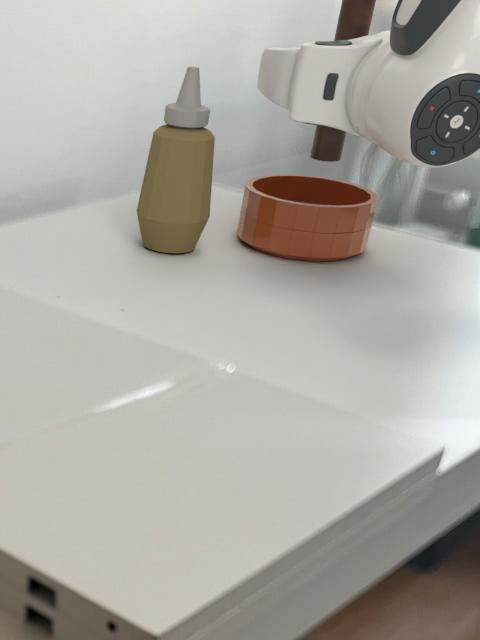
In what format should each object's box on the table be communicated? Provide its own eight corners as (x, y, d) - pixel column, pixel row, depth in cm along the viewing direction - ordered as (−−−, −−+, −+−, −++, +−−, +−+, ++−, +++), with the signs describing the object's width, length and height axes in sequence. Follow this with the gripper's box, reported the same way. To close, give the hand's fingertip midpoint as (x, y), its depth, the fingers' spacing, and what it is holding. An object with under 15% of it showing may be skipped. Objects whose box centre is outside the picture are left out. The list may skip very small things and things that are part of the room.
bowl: (341, 228, 126) (354, 176, 123) (381, 266, 114) (396, 209, 111) (224, 224, 125) (233, 171, 122) (252, 261, 114) (263, 204, 110)
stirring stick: (335, 155, 112) (373, -19, 102) (344, 162, 109) (384, -16, 100) (306, 154, 112) (342, -20, 102) (314, 161, 109) (352, -17, 100)
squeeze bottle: (133, 234, 120) (154, 58, 109) (203, 240, 119) (231, 64, 109) (131, 254, 114) (153, 70, 103) (204, 261, 113) (234, 76, 102)
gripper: (509, 53, 94) (449, 33, 105) (288, 43, 92) (252, 24, 104) (486, 129, 98) (431, 102, 109) (274, 120, 96) (240, 94, 107)
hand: (342, 63), depth 106 cm, fingers closed on stirring stick, 3 cm apart
